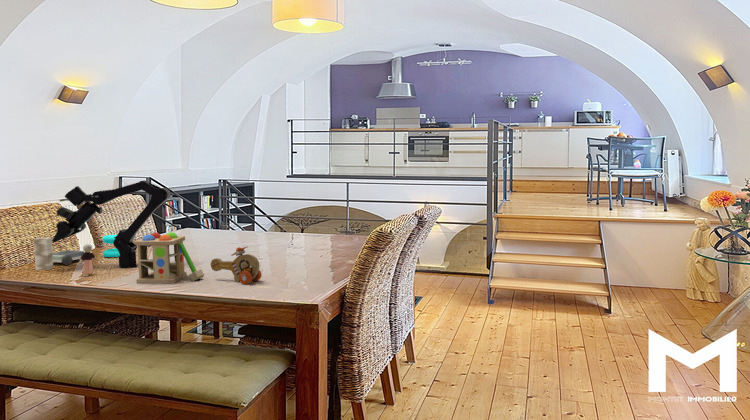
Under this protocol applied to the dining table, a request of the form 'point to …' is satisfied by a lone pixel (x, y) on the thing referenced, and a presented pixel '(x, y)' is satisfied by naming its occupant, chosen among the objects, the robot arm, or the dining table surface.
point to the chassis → (67, 256)
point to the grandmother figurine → (87, 260)
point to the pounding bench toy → (164, 259)
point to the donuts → (112, 252)
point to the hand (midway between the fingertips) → (57, 240)
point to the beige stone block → (43, 253)
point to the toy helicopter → (240, 266)
